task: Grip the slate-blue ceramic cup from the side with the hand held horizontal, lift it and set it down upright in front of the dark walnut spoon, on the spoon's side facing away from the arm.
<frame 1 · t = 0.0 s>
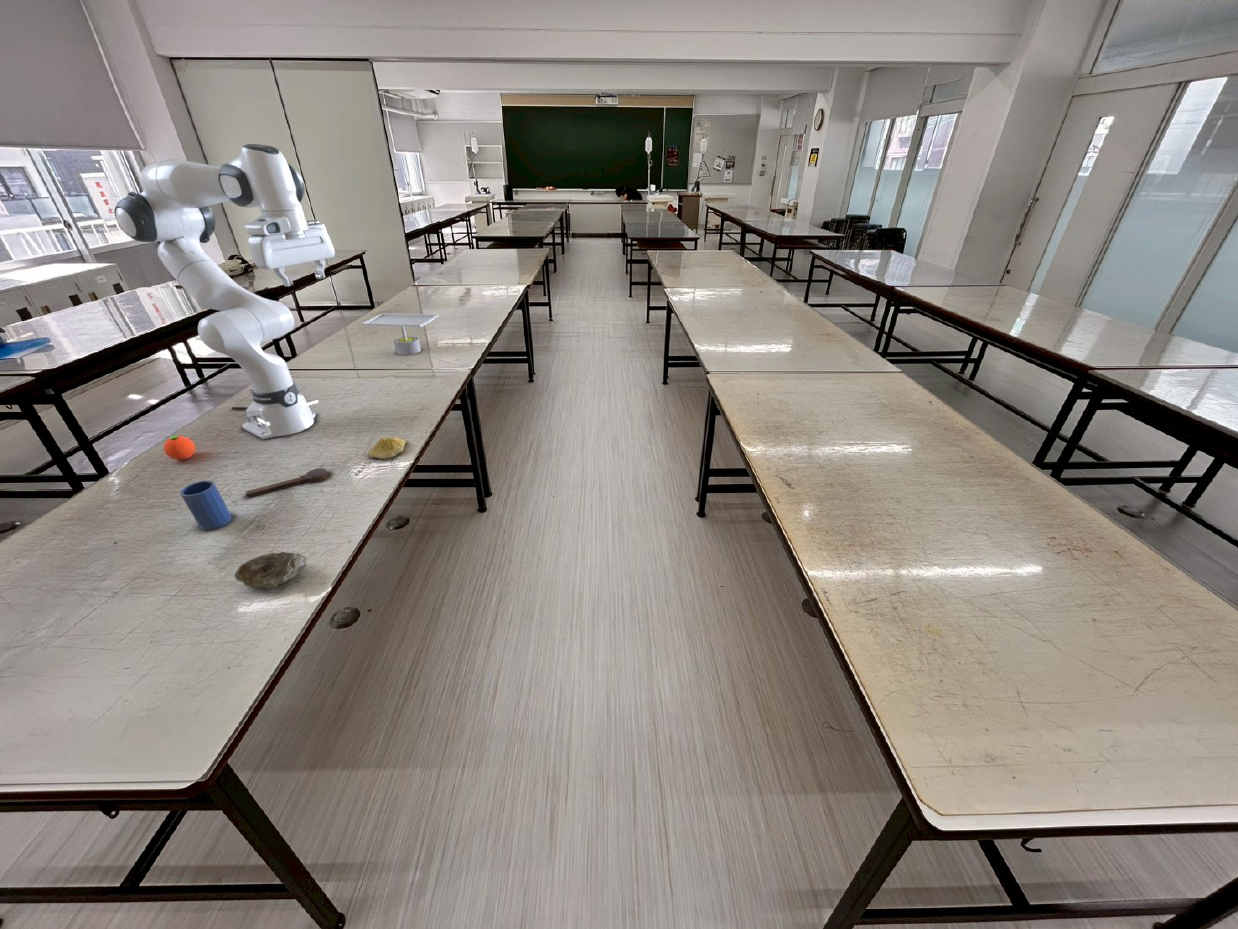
hand: (305, 282, 128), 48 cm above the table, tool pointing down, fingers open, 8 cm apart
clementine: (185, 458, 147), on the table
spoon: (297, 482, 135), on the table
stone: (279, 578, 104), on the table
solar panel model: (408, 351, 228), on the table
cup: (216, 521, 121), on the table
fossil: (390, 451, 149), on the table
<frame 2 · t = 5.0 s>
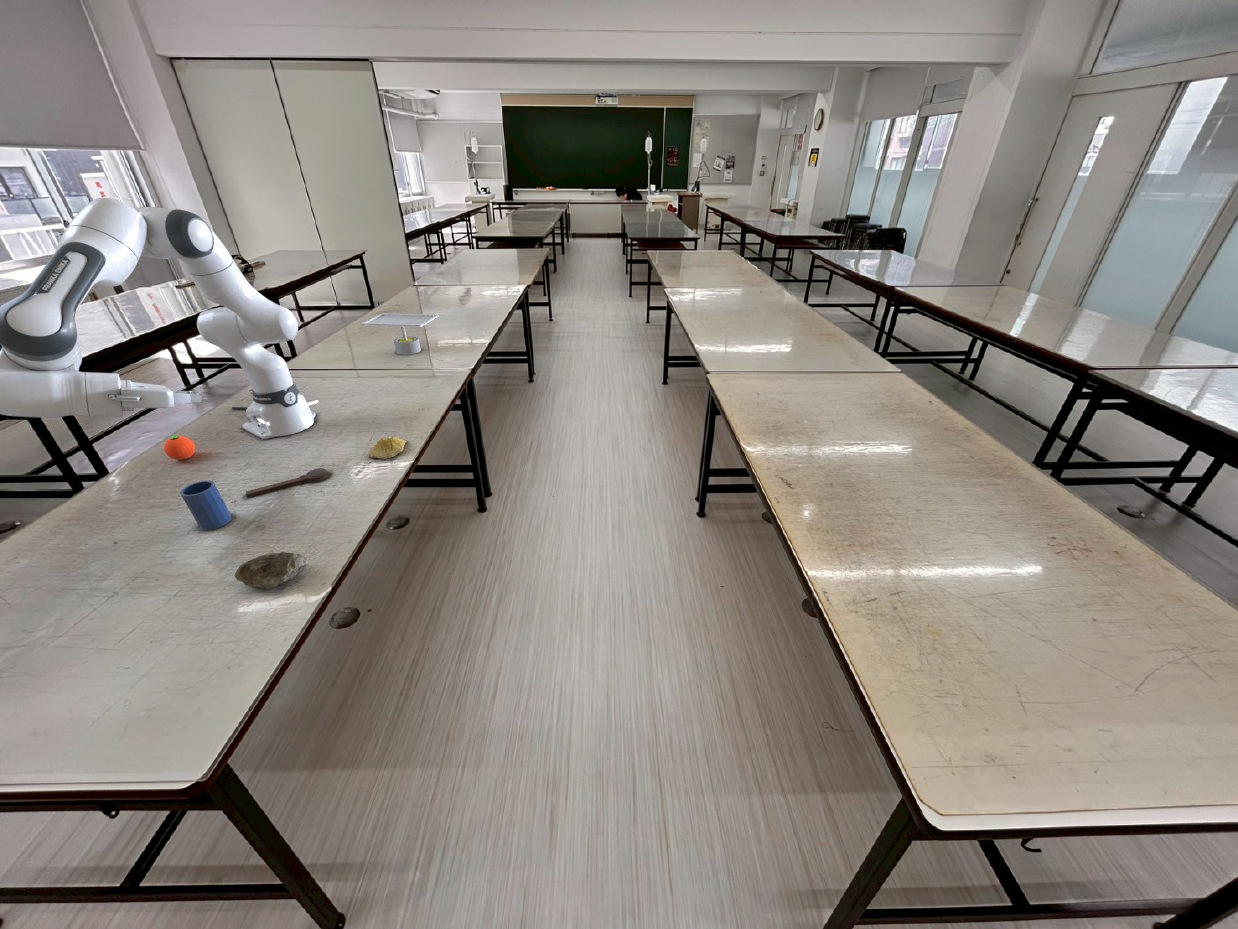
hand: (199, 396, 109), 31 cm above the table, tool tilted 70°, fingers open, 8 cm apart
nothing on the table moved.
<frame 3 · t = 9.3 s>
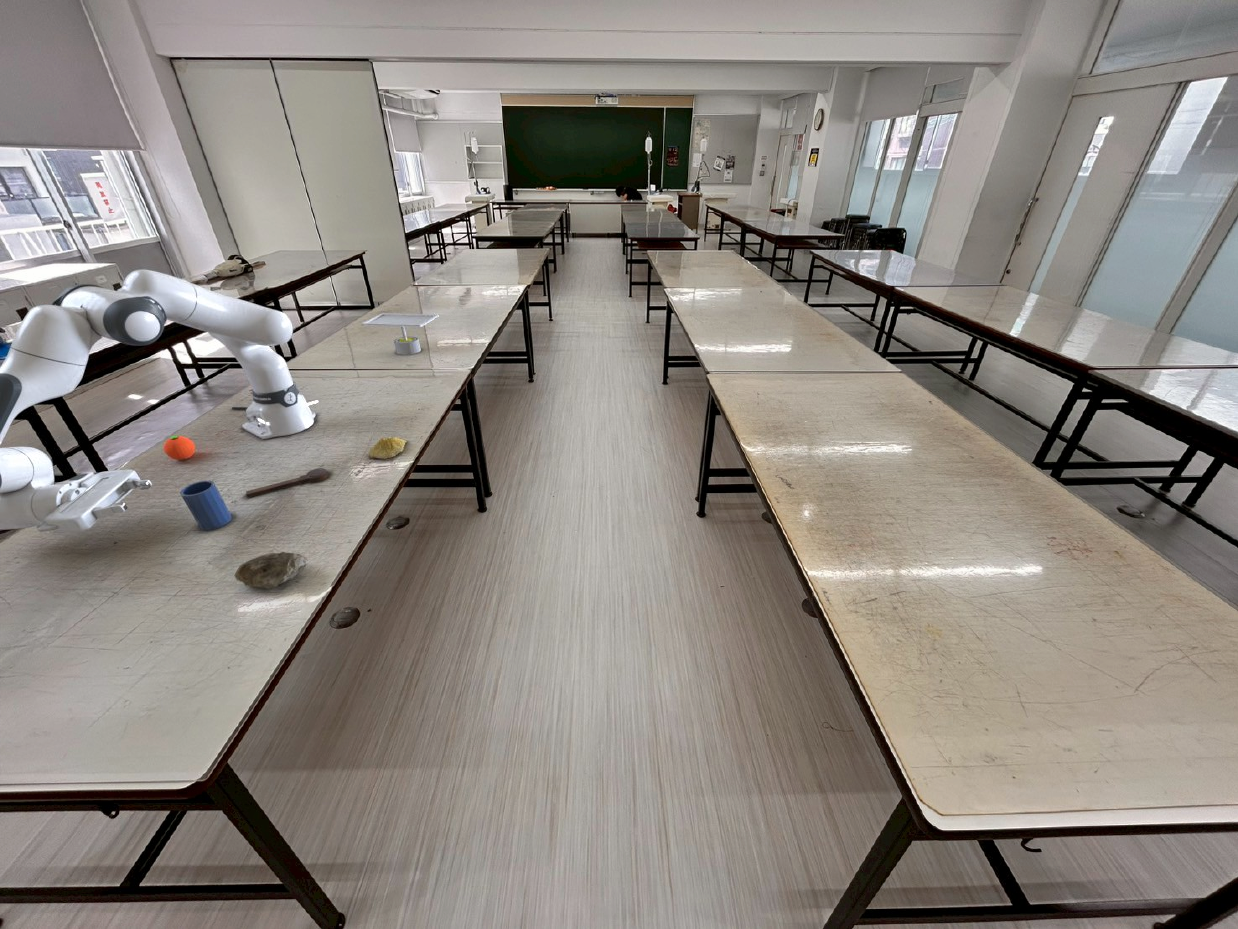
hand: (137, 495, 113), 10 cm above the table, tool horizontal, fingers open, 8 cm apart
nothing on the table moved.
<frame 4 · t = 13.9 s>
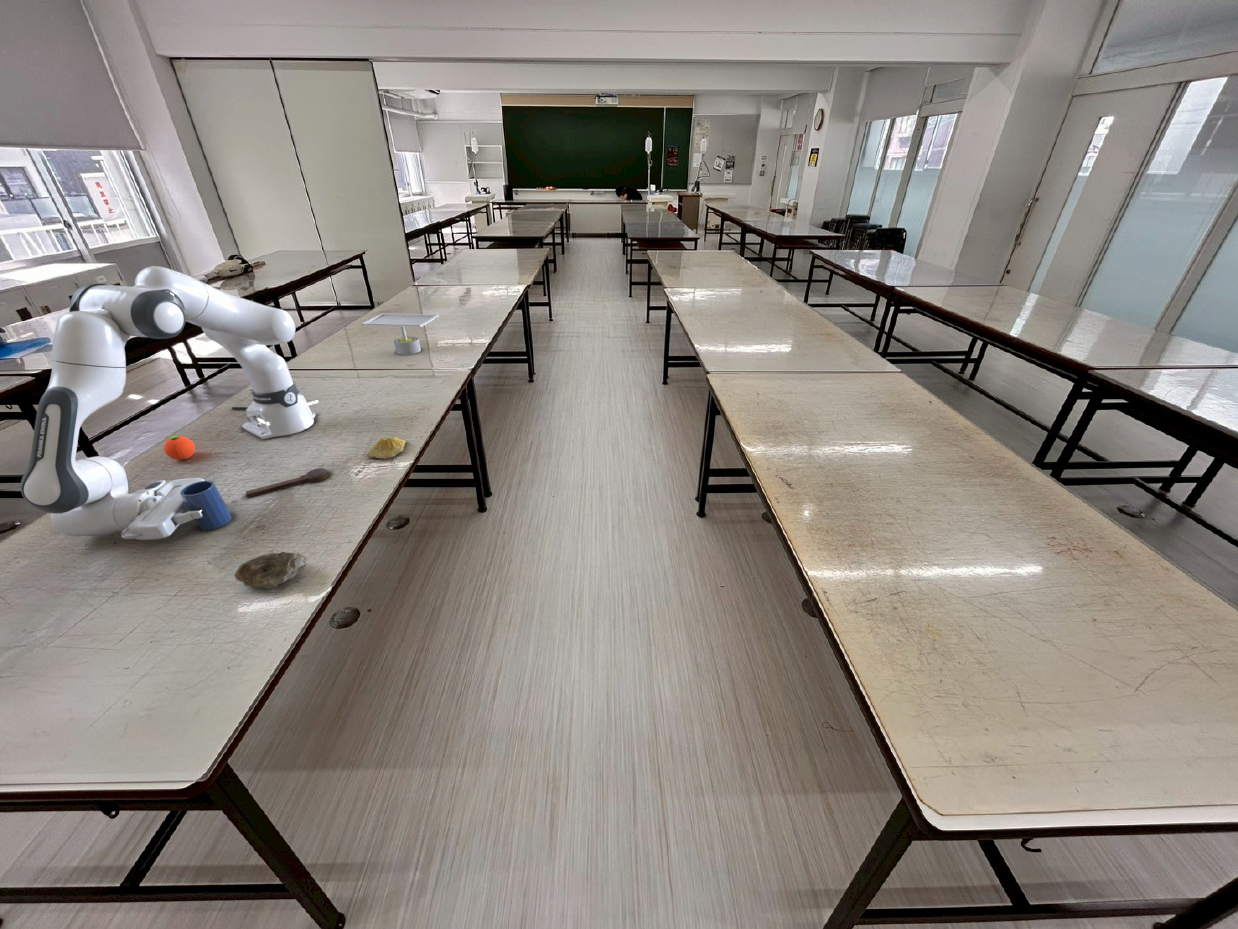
hand: (210, 503, 118), 6 cm above the table, tool horizontal, fingers closed on cup, 6 cm apart
cup: (216, 521, 121), on the table, touching gripper
everything else where it was.
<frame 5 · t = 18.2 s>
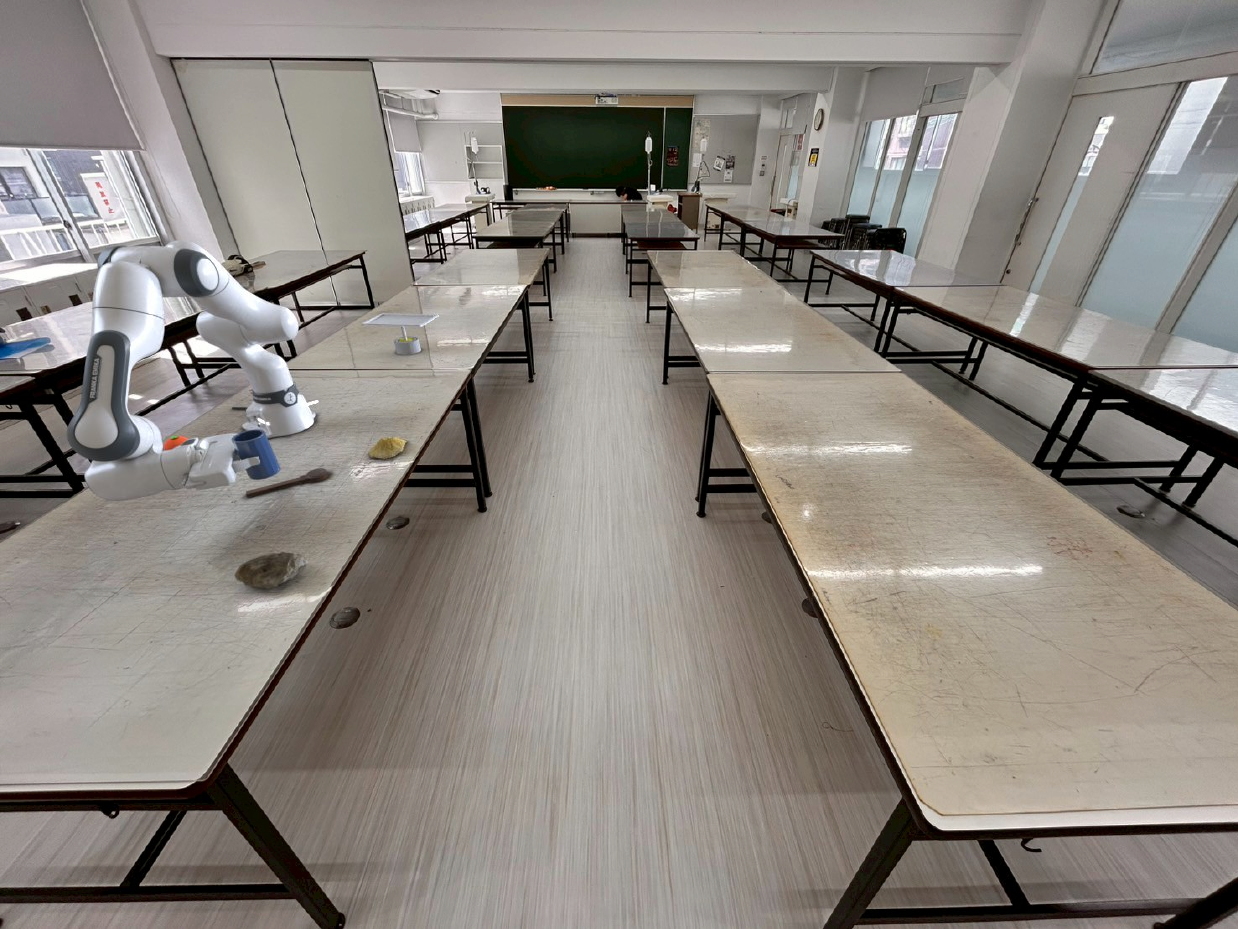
hand: (260, 451, 116), 17 cm above the table, tool horizontal, fingers closed on cup, 6 cm apart
cup: (265, 472, 118), point 11 cm above the table, touching gripper
everything else where it was.
when the fingers open (5 cm above the table, at t = 22.6 s): cup stays where it is, on the table.
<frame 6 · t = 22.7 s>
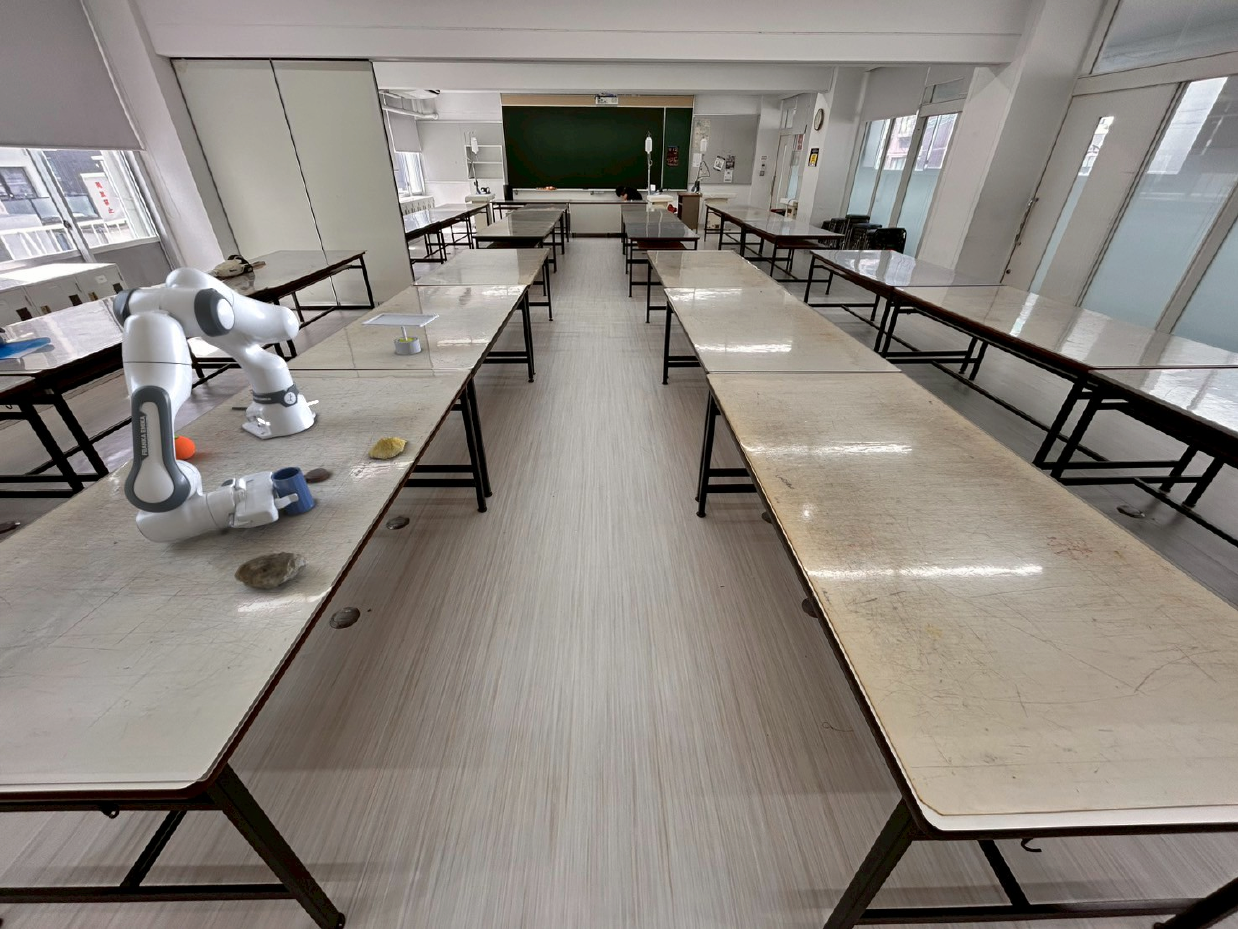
hand: (296, 488, 123), 5 cm above the table, tool horizontal, fingers open, 7 cm apart
cup: (300, 506, 125), on the table
everything else where it was.
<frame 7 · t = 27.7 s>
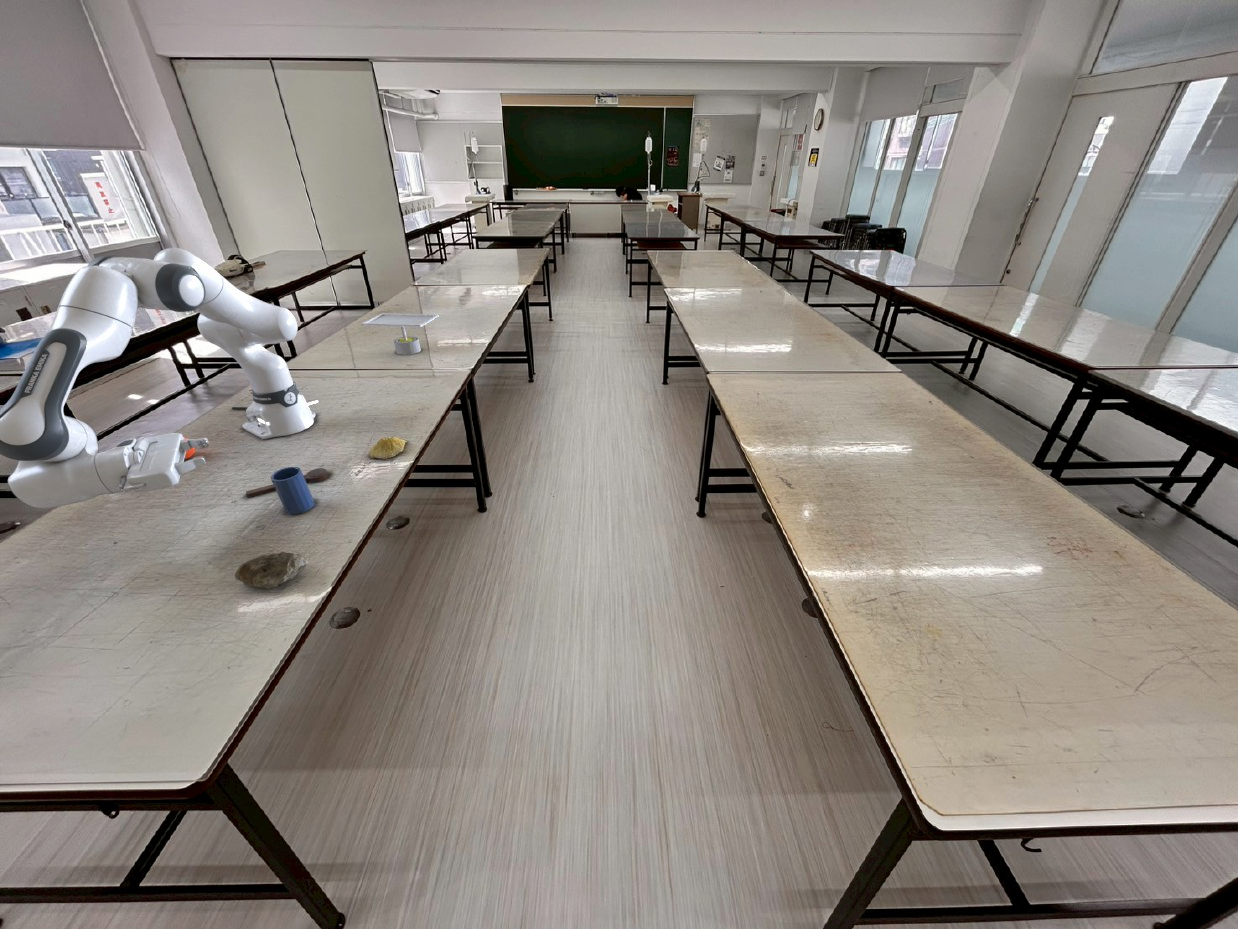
hand: (206, 450, 110), 20 cm above the table, tool horizontal, fingers open, 8 cm apart
nothing on the table moved.
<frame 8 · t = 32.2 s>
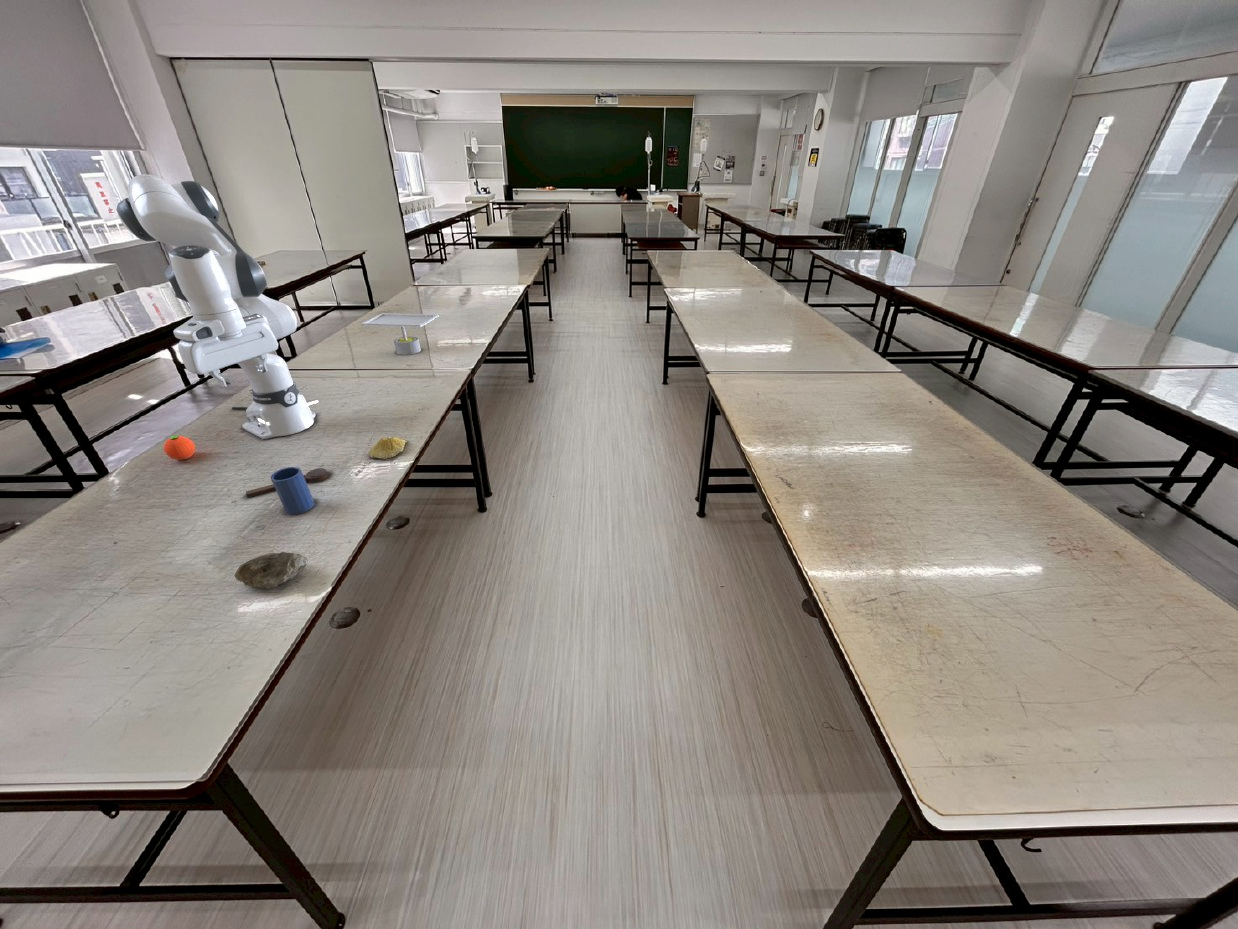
hand: (245, 378, 122), 29 cm above the table, tool pointing down, fingers open, 8 cm apart
nothing on the table moved.
at the end: cup inside the target area on the table beside the spoon (0.2 cm from its centre), on the table; cup tilted 0° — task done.
